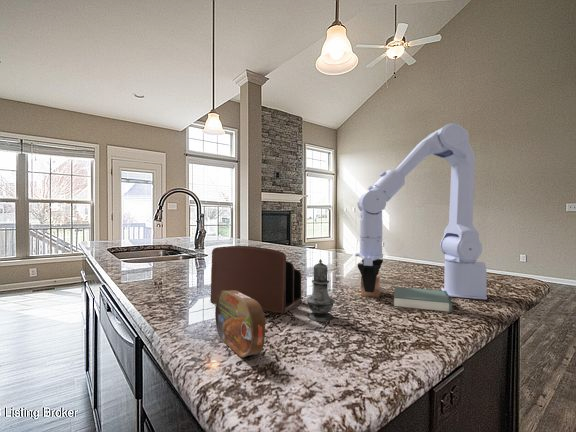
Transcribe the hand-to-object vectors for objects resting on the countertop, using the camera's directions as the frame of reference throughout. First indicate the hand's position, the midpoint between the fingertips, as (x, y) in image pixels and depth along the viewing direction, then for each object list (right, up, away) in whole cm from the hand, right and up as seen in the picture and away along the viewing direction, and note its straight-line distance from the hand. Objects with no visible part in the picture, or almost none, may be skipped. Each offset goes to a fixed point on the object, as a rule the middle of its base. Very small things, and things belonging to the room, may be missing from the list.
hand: (370, 288), depth 82 cm
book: (+10, -2, -8) cm, 13 cm away
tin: (-30, -2, -31) cm, 43 cm away
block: (0, -2, 0) cm, 2 cm away
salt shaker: (-15, -2, -18) cm, 23 cm away
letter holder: (-30, -2, -7) cm, 31 cm away
